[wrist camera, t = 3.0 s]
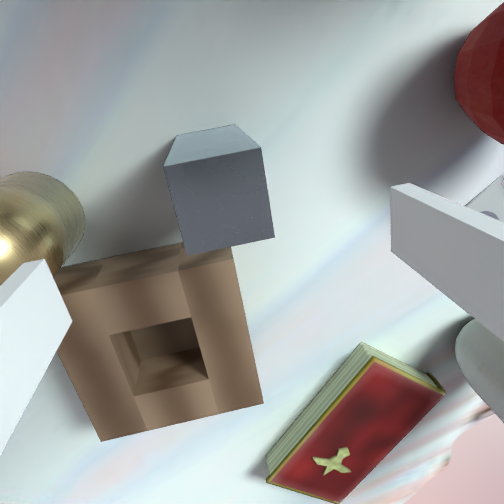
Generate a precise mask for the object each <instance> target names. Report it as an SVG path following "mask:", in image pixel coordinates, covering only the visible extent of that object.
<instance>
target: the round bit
mask: <svg viewBox="0 0 504 504" xmlns="http://www.w3.org/2000/svg"><path fill="white" fill-rule="evenodd" d="M84 231H85V215H84V211H83V208H82V206H81V204H80V202H79V200H78V199H77V197H76V196H75V195H74V193H73V192H72V191H71V190H70V189H69V188H68V187H67V186H65V185H64V184H63V183H61V182H60V181H58V180H56V179H54V178H52V177H50V176H48V175H45V174H41V173H37V172H17V173H13V174H10V175H8V176H5V177H3V178H1V179H0V286H1V285H2V284H3V283H4V282H5V281H6V280H7V279H8V278H9V277H10V276H11V275H12V274H13V273H14V272H15V271H16V270H17V269H18V268H19V267H20V266H21V265H22V264H23V263H27V262H31V261H36V260H41V259H45V261H46V263H47V265H48V267H49V270H50V272H51V274H52V276H54V275H55V274H56V272H57V271H58V270H59V269H60V267H61V266H62V265H63V263H64V262H65V261H66V259H67V258H68V257H69V256H70V254H71V253H72V252H73V250H74V249H75V248H76V246H77V245H78V244H79V242H80V241H81V239H82V237H83V234H84Z"/></svg>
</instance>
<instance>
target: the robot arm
mask: <svg viewBox="0 0 504 504" xmlns="http://www.w3.org/2000/svg"><path fill="white" fill-rule="evenodd" d="M390 209H391V252H393V253H394V254H395V255H396V256H398V257H399V258H400V259H401V260H403V261H404V262H405V263H406V264H408V265H409V266H410V267H411V268H412V269H414V270H415V271H416V272H417V273H419V274H420V275H421V276H422V277H424V278H425V279H426V280H427V281H429V282H430V283H431V284H432V285H434V286H435V287H436V288H437V289H439V290H440V291H441V292H442V293H443V294H445V295H446V296H447V297H448V298H450V299H451V300H452V301H453V302H455V303H456V304H457V305H458V306H460V307H461V308H462V309H463V310H465V311H466V312H467V313H468V314H470V315H471V316H472V317H473V318H475V319H476V320H477V321H478V322H479V323H481V324H482V325H483V326H484V327H486V328H487V329H488V330H489V331H491V332H492V333H493V334H494V335H496V336H497V337H498V338H499V339H501V340H502V341H503V342H504V222H501V221H499V220H497V219H494V218H492V217H490V216H487V215H485V214H482V213H480V212H478V211H475V210H473V209H470V208H468V207H466V206H463V205H461V204H458V203H456V202H454V201H451V200H449V199H447V198H444V197H442V196H439V195H437V194H435V193H432V192H430V191H427V190H425V189H423V188H420V187H418V186H415V185H413V184H411V183H406V184H401V185H396V186H392V187H390ZM71 323H72V319H71V317H70V315H69V312H68V310H67V308H66V306H65V303H64V301H63V299H62V297H61V294H60V292H59V290H58V288H57V285H56V283H55V281H54V279H53V276H52V274H51V272H50V270H49V267H48V265H47V263H46V261H45V259H41V260H36V261H31V262H27V263H23V264H22V265H21V266H20V267H19V268H18V269H17V270H16V271H15V272H14V273H13V274H12V275H11V276H10V277H9V278H8V279H7V280H6V281H5V282H4V283H3V284H2V285H1V286H0V455H1V453H2V452H3V450H4V448H5V446H6V444H7V442H8V440H9V438H10V437H11V435H12V433H13V431H14V429H15V427H16V425H17V424H18V422H19V420H20V418H21V416H22V414H23V412H24V411H25V409H26V407H27V405H28V403H29V401H30V399H31V397H32V396H33V394H34V392H35V390H36V388H37V386H38V384H39V383H40V381H41V379H42V377H43V375H44V373H45V371H46V370H47V368H48V366H49V364H50V362H51V360H52V358H53V357H54V355H55V353H56V351H57V349H58V347H59V345H60V343H61V342H62V340H63V338H64V336H65V334H66V332H67V330H68V329H69V327H70V325H71Z"/></svg>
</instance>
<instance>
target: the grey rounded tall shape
mask: <svg viewBox="0 0 504 504" xmlns="http://www.w3.org/2000/svg"><path fill="white" fill-rule="evenodd" d="M455 355H456V359H457V362H458V365H459V367H460V369H461V371H462V373H463V375H464V376H465V378H466V380H467V382H468V383H469V384H470V386H471V387H472V388H473V389H474V391H475V392H476V393H477V394H478V395H479V396H480V398H481V399H482V400H483V401H484V402H485V403H486V404H487V405H488V406H489V407H490V408H491V410H492V411H493V412H494V413H495V414H496V415H497V416H498V417H499V418H500V419H501V420H502V422H503V423H504V342H503V341H502V340H501V339H499V338H498V337H497V336H496V335H494V334H493V333H492V332H491V331H489V330H488V329H487V328H486V327H484V326H483V325H482V324H481V323H479V322H478V321H477V320H476V319H473V320H471V321H470V322H468V323H467V324H466V325H465V326H464V327H463V328H462V330H461V331H460V333H459V335H458V337H457V338H456V345H455Z"/></svg>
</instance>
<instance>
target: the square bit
mask: <svg viewBox="0 0 504 504" xmlns="http://www.w3.org/2000/svg"><path fill="white" fill-rule="evenodd" d="M163 168H164V171H165V175H166V179H167V183H168V186H169V190H170V194H171V198H172V201H173V205H174V209H175V213H176V216H177V220H178V224H179V227H180V231H181V235H182V239H183V242H184V246H185V250H186V254H187V256H189V255H193V254H198V253H203V252H208V251H212V250H217V249H222V248H227V247H231V246H236V245H241V244H246V243H250V242H255V241H260V240H265V239H269V238H274V237H275V235H274V229H273V222H272V216H271V209H270V203H269V196H268V190H267V183H266V177H265V170H264V164H263V157H262V151H261V147H260V146H259V145H258V144H257V143H255V142H254V141H253V140H252V139H251V138H250V137H249V136H248V135H246V134H245V133H244V132H243V131H242V130H241V129H240V128H239V127H237V126H236V125H235V124H234V125H229V126H224V127H218V128H213V129H208V130H203V131H198V132H192V133H187V134H182V135H177V136H176V138H175V141H174V143H173V145H172V148H171V150H170V152H169V154H168V157H167V159H166V161H165V164H164V166H163Z"/></svg>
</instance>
